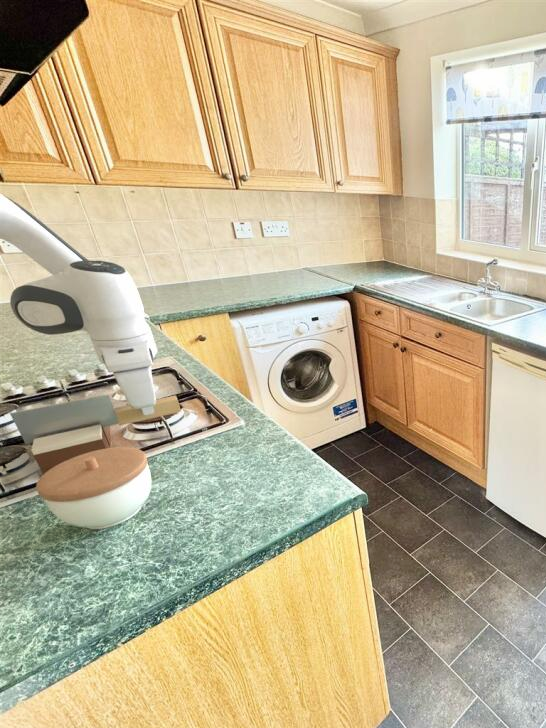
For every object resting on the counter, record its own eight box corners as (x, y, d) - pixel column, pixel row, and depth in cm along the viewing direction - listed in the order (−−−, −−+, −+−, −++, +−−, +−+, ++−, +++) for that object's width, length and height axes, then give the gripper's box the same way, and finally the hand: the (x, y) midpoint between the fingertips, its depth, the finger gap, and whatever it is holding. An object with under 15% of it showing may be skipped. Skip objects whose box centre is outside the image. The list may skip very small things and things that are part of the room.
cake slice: (45, 478, 76) (31, 450, 74) (47, 465, 79) (33, 438, 77) (111, 460, 82) (100, 434, 79) (110, 449, 85) (100, 424, 82)
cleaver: (25, 447, 76) (9, 416, 73) (26, 441, 78) (10, 410, 75) (181, 411, 90) (172, 384, 87) (179, 407, 92) (171, 380, 89)
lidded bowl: (126, 542, 64) (100, 484, 60) (35, 543, 63) (2, 485, 58) (178, 488, 76) (160, 437, 71) (102, 488, 74) (79, 436, 70)
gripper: (103, 335, 86) (126, 395, 92) (105, 367, 73) (131, 435, 79) (143, 330, 90) (162, 388, 96) (151, 360, 77) (173, 425, 83)
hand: (148, 409), depth 87 cm, fingers closed on cleaver, 2 cm apart
